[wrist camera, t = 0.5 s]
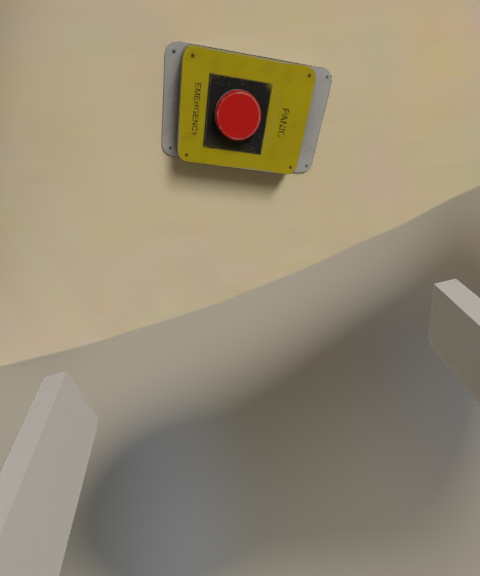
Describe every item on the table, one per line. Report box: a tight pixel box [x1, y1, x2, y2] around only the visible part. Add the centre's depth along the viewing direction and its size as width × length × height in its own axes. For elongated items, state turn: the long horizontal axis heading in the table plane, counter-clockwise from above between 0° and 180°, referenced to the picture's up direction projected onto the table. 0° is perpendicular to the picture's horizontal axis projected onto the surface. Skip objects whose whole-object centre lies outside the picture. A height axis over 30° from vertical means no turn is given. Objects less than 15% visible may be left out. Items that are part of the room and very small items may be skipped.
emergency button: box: [162, 42, 332, 174], centre depth 32 cm, size 9×4×15 cm
